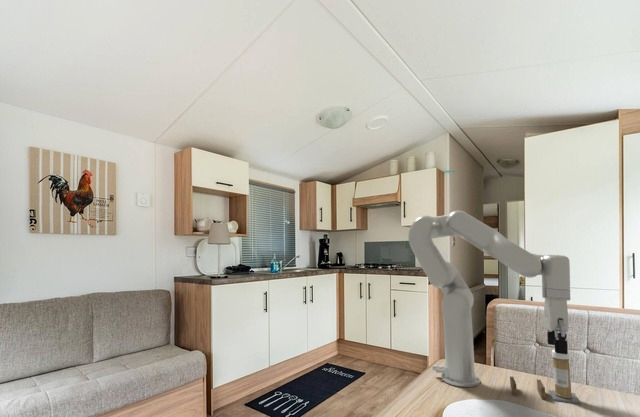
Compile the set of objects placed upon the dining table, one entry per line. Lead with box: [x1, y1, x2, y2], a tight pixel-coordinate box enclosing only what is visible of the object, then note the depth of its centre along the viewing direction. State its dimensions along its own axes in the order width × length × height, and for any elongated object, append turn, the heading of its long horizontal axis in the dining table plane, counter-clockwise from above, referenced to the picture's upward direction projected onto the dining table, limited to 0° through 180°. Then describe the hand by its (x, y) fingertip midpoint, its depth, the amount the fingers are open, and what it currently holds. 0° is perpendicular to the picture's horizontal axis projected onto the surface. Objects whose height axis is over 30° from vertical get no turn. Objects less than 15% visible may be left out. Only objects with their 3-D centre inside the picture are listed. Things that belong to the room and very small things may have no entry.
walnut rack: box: [509, 376, 547, 401], centre depth 115 cm, size 9×7×4 cm
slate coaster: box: [547, 389, 582, 405], centre depth 111 cm, size 7×7×1 cm
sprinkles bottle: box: [551, 349, 573, 398], centre depth 112 cm, size 5×5×14 cm
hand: (557, 348), depth 113 cm, fingers open, 9 cm apart
